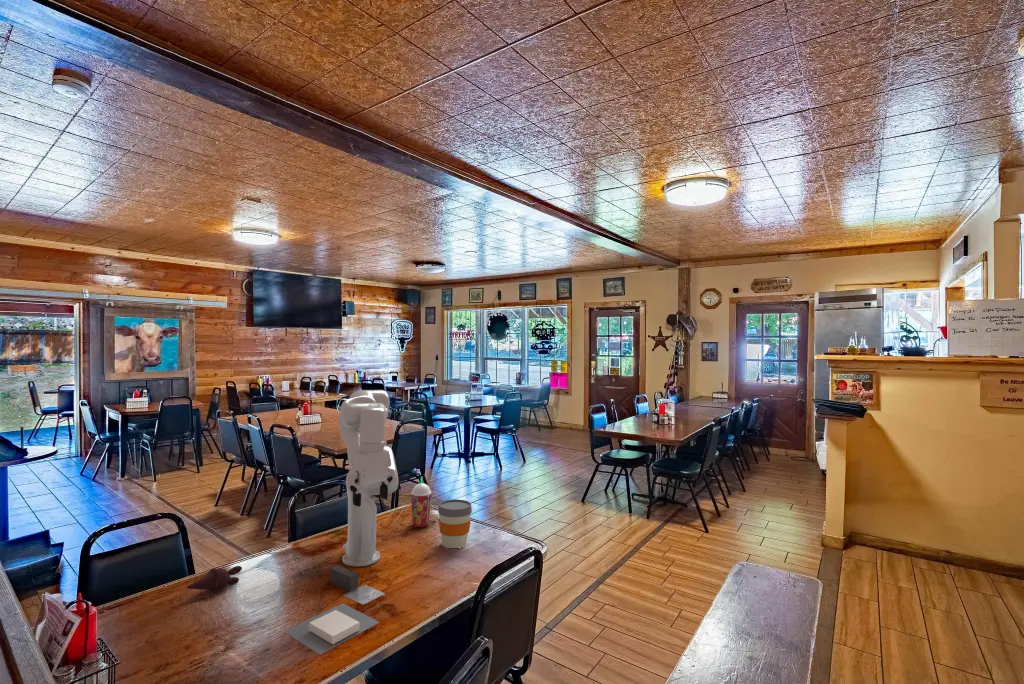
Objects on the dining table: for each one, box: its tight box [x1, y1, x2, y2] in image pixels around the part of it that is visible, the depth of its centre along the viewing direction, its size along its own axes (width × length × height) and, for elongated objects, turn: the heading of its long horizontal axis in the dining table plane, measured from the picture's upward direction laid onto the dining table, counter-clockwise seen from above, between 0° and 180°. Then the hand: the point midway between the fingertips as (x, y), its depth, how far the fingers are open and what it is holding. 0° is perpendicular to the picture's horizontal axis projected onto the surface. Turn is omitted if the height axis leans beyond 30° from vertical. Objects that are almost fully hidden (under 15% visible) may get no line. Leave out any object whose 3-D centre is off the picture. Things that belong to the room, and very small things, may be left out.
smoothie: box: [410, 476, 432, 528], centre depth 211 cm, size 8×8×20 cm
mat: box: [282, 603, 380, 656], centre depth 135 cm, size 16×18×1 cm
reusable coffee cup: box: [437, 499, 473, 549], centre depth 193 cm, size 13×13×15 cm
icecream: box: [186, 565, 243, 595], centre depth 153 cm, size 7×7×15 cm
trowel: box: [329, 564, 386, 605], centre depth 155 cm, size 19×8×5 cm, turn 55°
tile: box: [309, 610, 360, 644], centre depth 133 cm, size 2×8×10 cm
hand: (370, 501), depth 159 cm, fingers open, 9 cm apart
